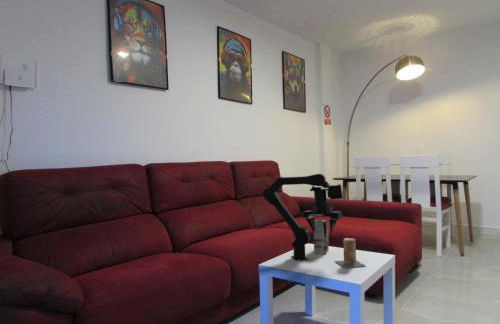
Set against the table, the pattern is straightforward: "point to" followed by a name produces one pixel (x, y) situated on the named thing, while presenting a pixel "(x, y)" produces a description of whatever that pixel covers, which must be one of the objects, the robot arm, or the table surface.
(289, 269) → the table surface
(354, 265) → the mat
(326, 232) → the coffee box
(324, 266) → the table surface
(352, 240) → the walnut block
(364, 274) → the table surface
